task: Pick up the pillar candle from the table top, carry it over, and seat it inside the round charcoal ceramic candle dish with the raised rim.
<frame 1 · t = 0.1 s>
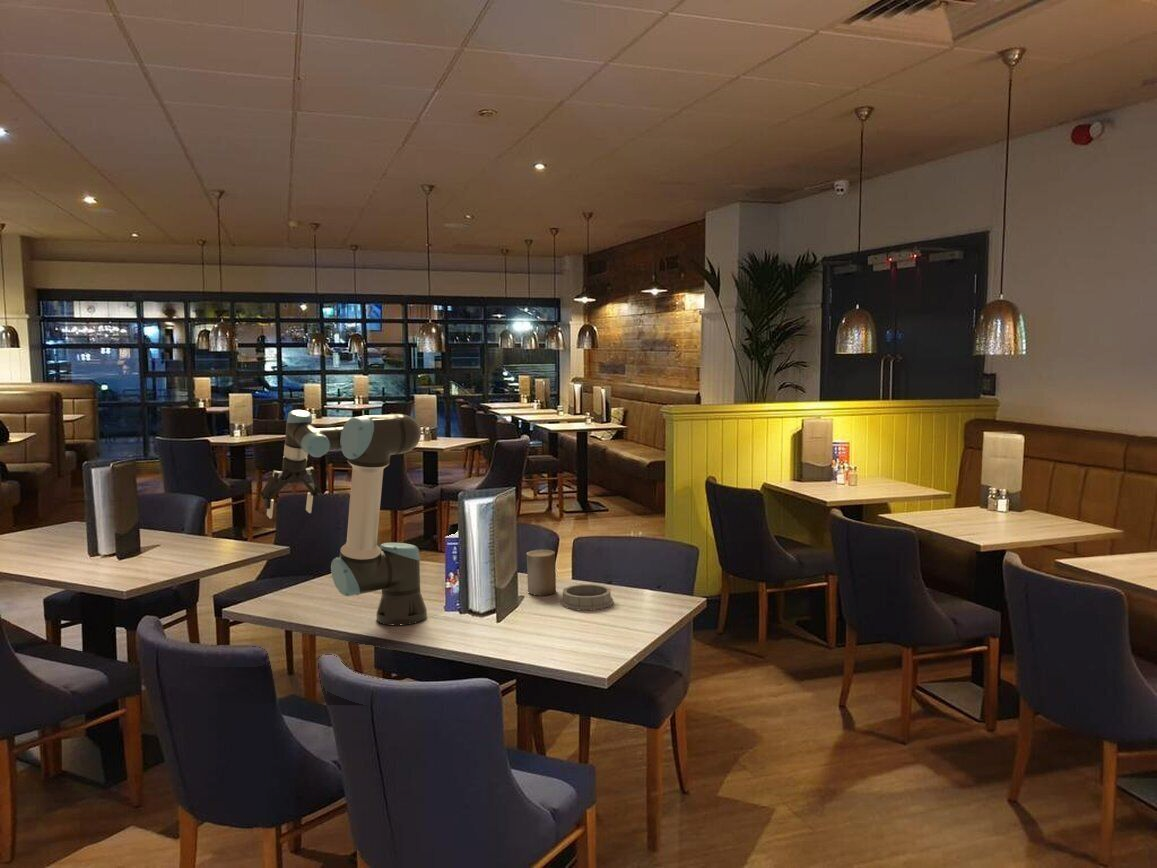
hand: (289, 514, 284), 28 cm above the table, tool tilted 20°, fingers open, 13 cm apart
candle dish: (586, 602, 274), on the table
pillar candle: (541, 592, 287), on the table
wine glass: (462, 580, 303), on the table
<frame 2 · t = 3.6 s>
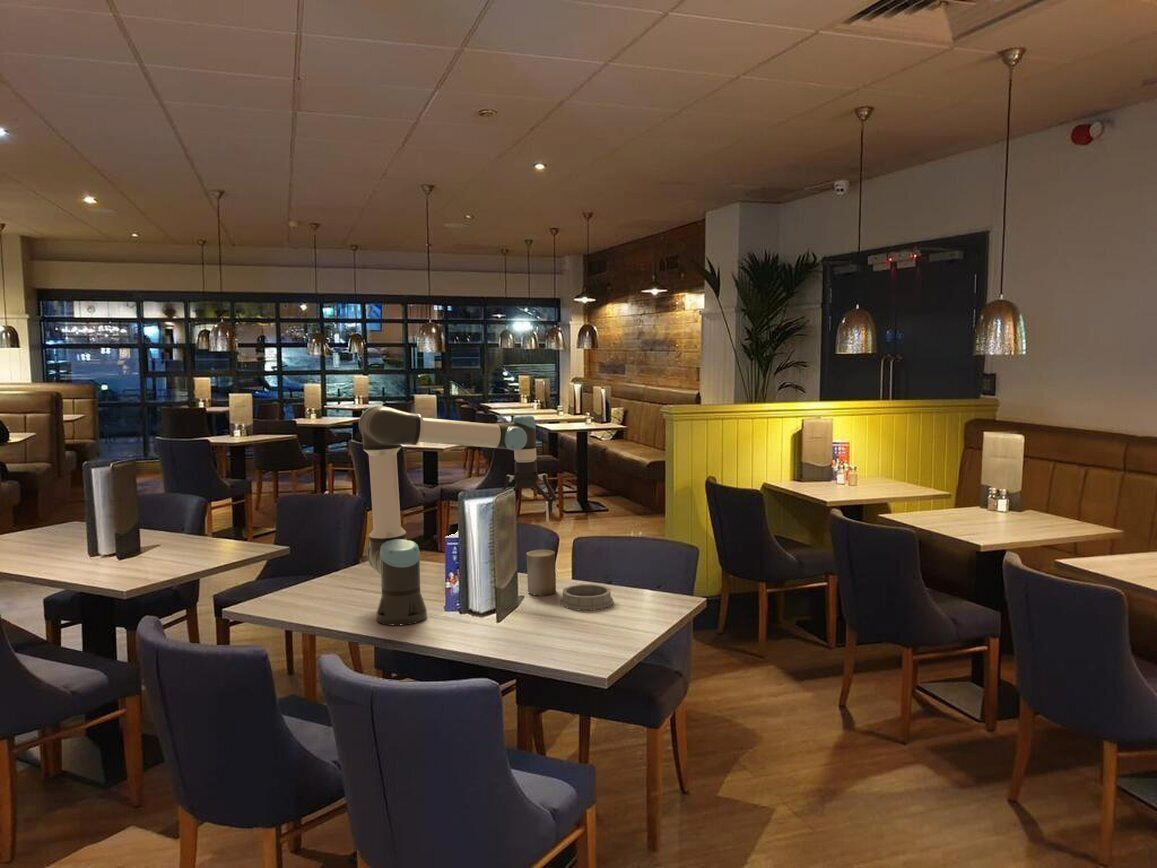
hand: (527, 521, 291), 23 cm above the table, tool pointing down, fingers open, 13 cm apart
nothing on the table moved.
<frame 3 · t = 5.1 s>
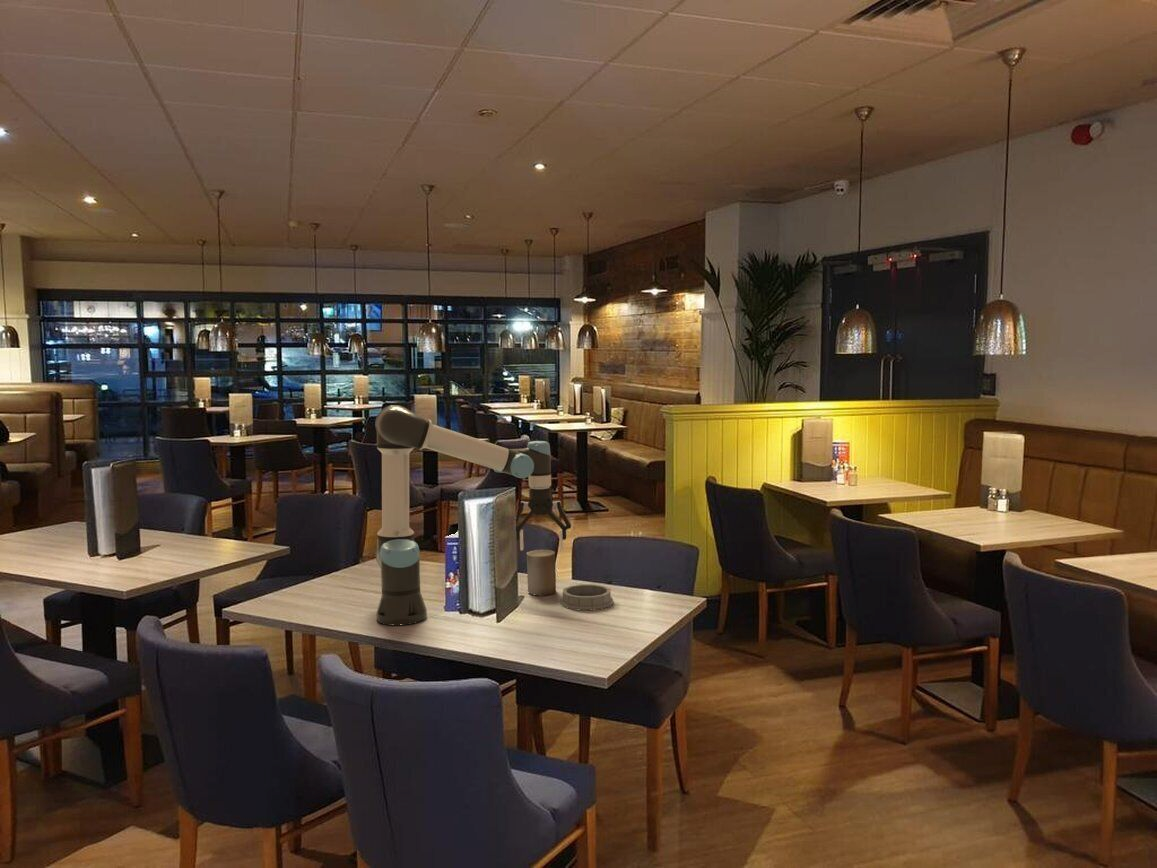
hand: (541, 549, 285), 15 cm above the table, tool pointing down, fingers open, 13 cm apart
nothing on the table moved.
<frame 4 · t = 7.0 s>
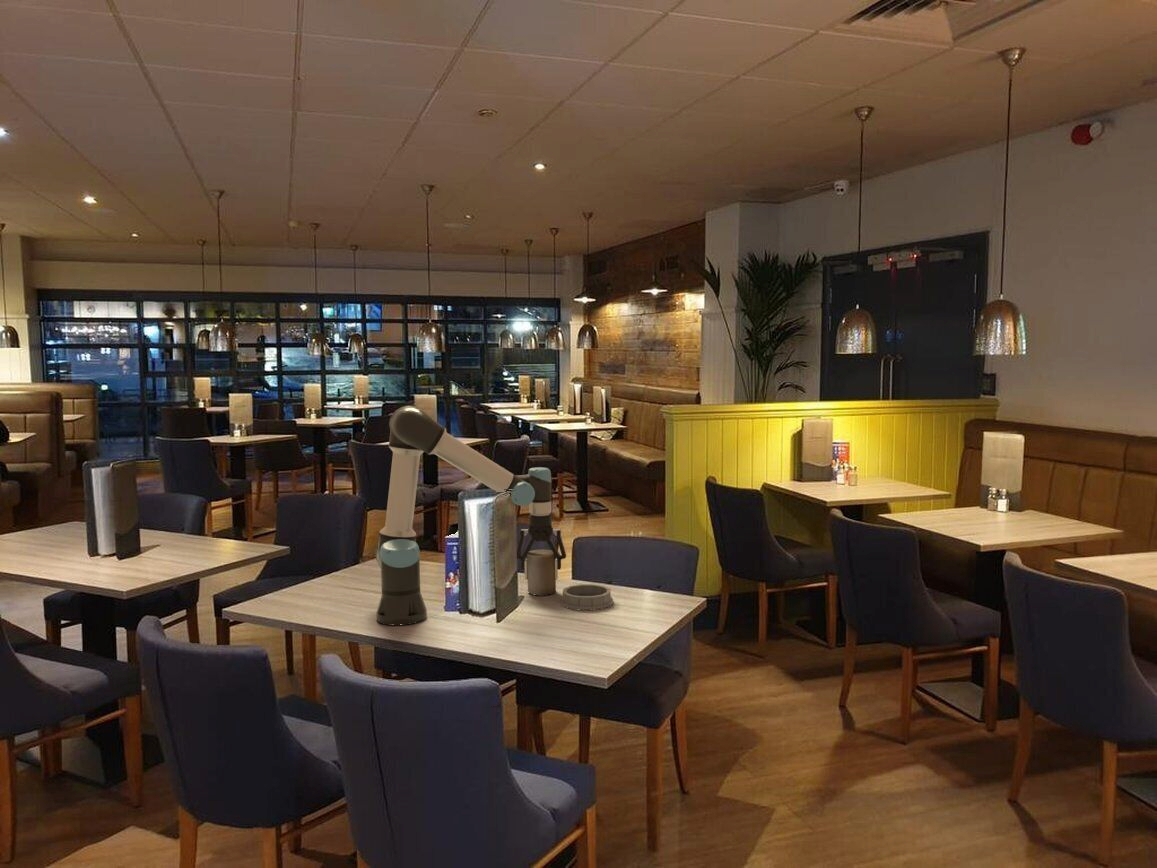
hand: (541, 578, 286), 5 cm above the table, tool pointing down, fingers closed on pillar candle, 10 cm apart
pillar candle: (541, 592, 287), on the table, touching gripper
everything else where it was.
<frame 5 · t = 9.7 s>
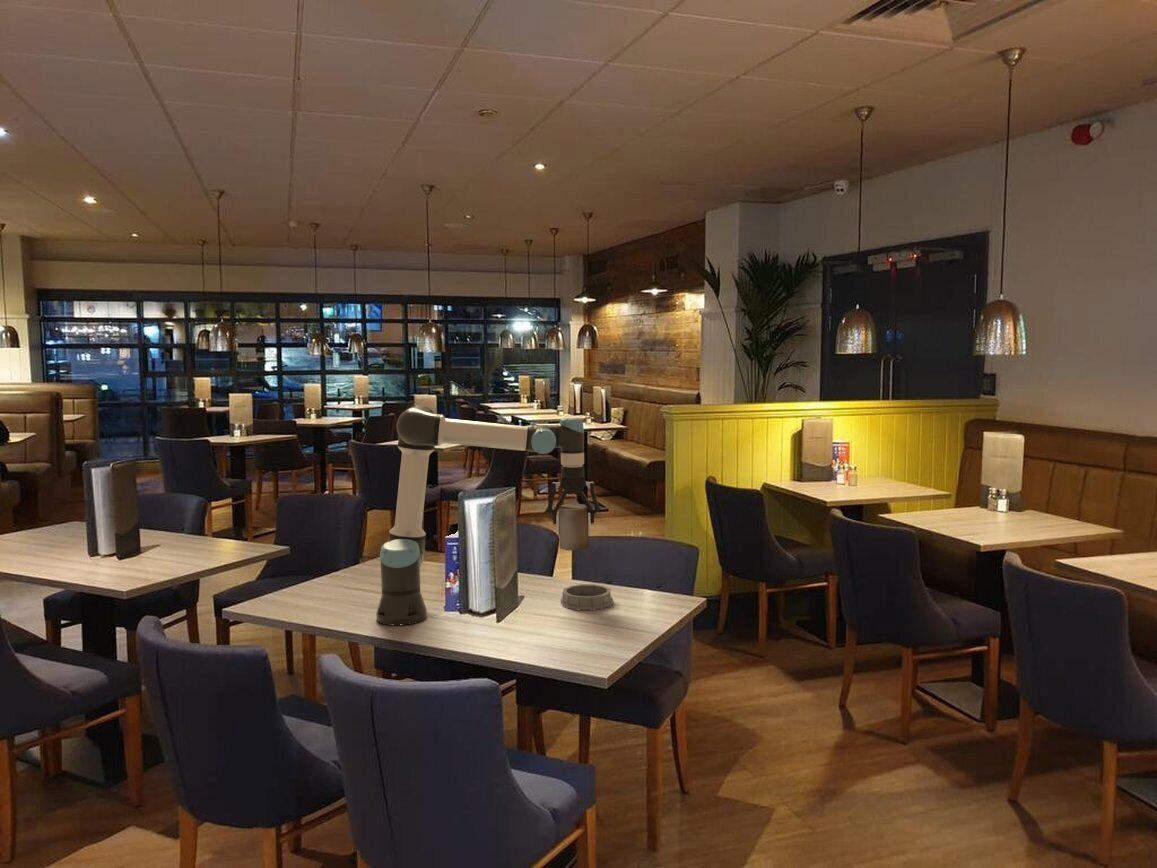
hand: (573, 533, 275), 22 cm above the table, tool pointing down, fingers closed on pillar candle, 10 cm apart
pillar candle: (573, 548, 276), point 17 cm above the table, touching gripper
everything else where it was.
when the fingers open (7 cm above the table, at t = 12.8 s): pillar candle drops 1 cm, resting on candle dish.
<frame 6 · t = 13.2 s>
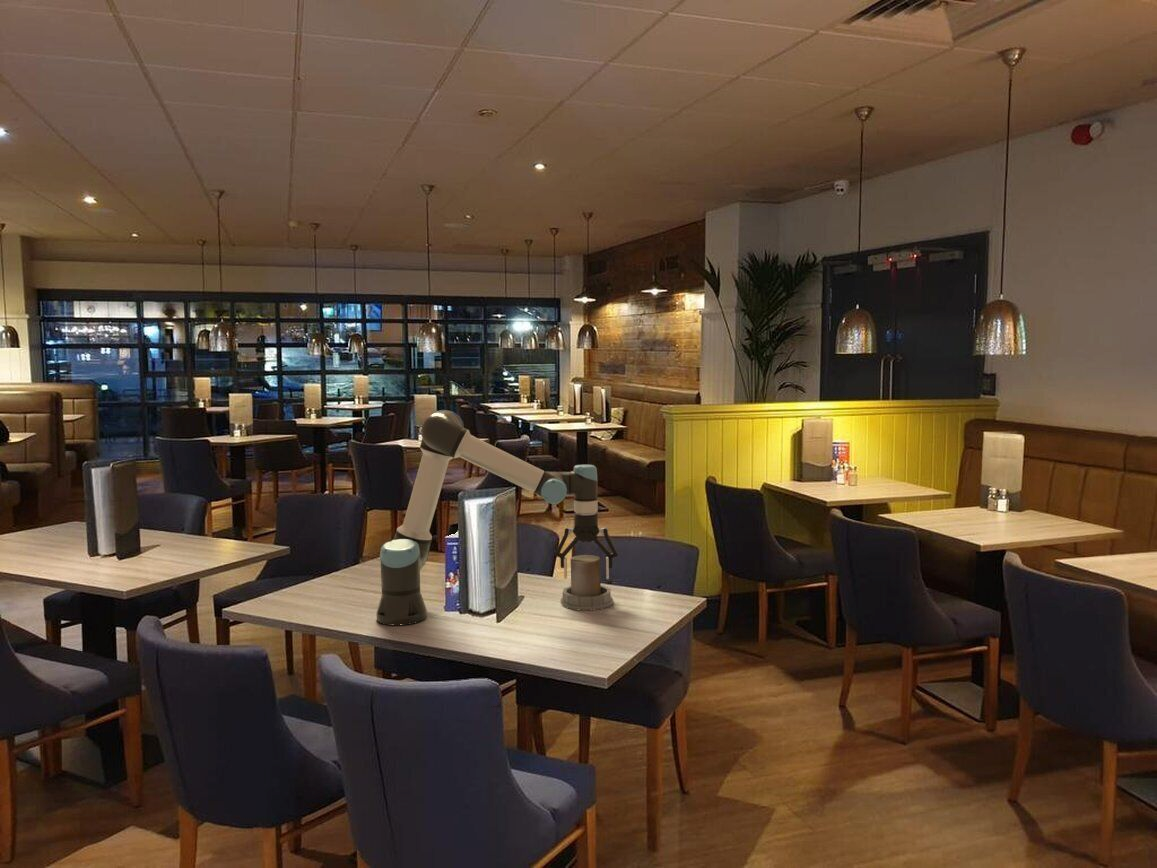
hand: (586, 577, 273), 8 cm above the table, tool pointing down, fingers open, 13 cm apart
pillar candle: (585, 600, 274), point 1 cm above the table, touching candle dish
everything else where it was.
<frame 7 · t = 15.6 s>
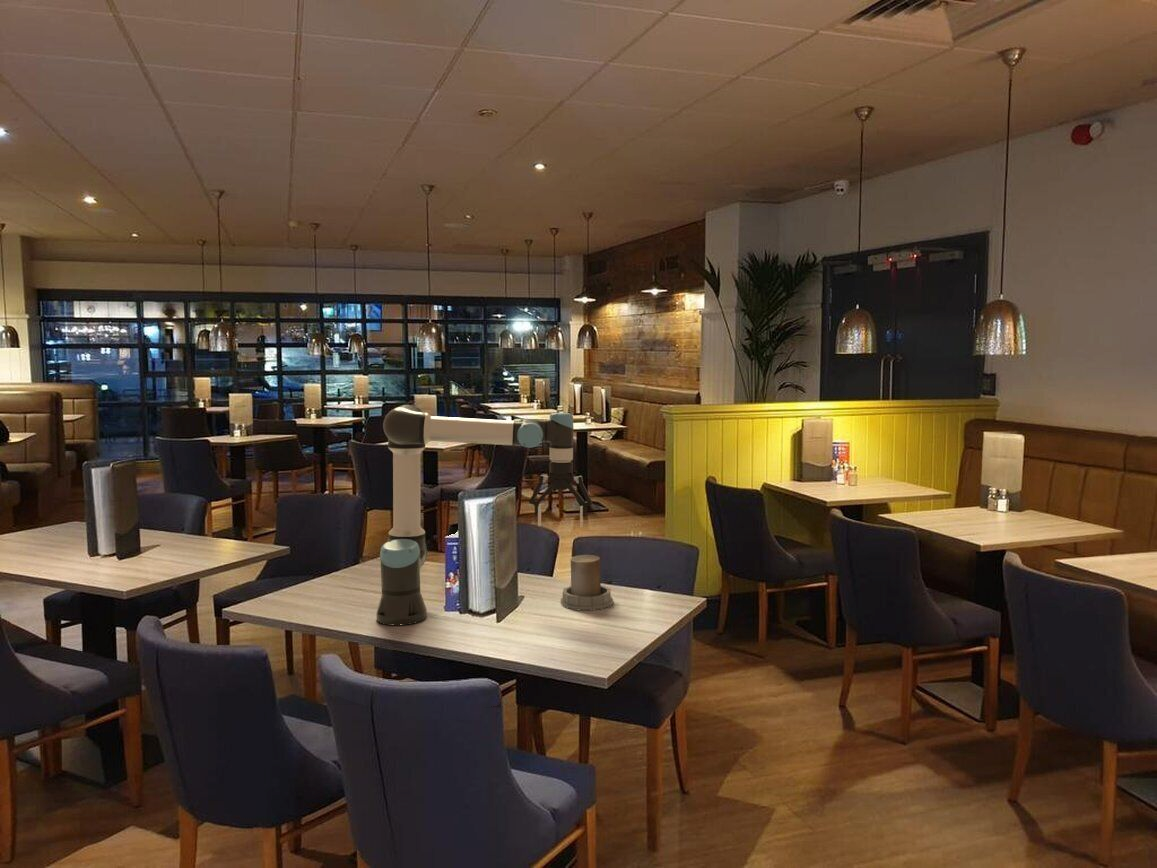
hand: (560, 526, 273), 25 cm above the table, tool pointing down, fingers open, 13 cm apart
nothing on the table moved.
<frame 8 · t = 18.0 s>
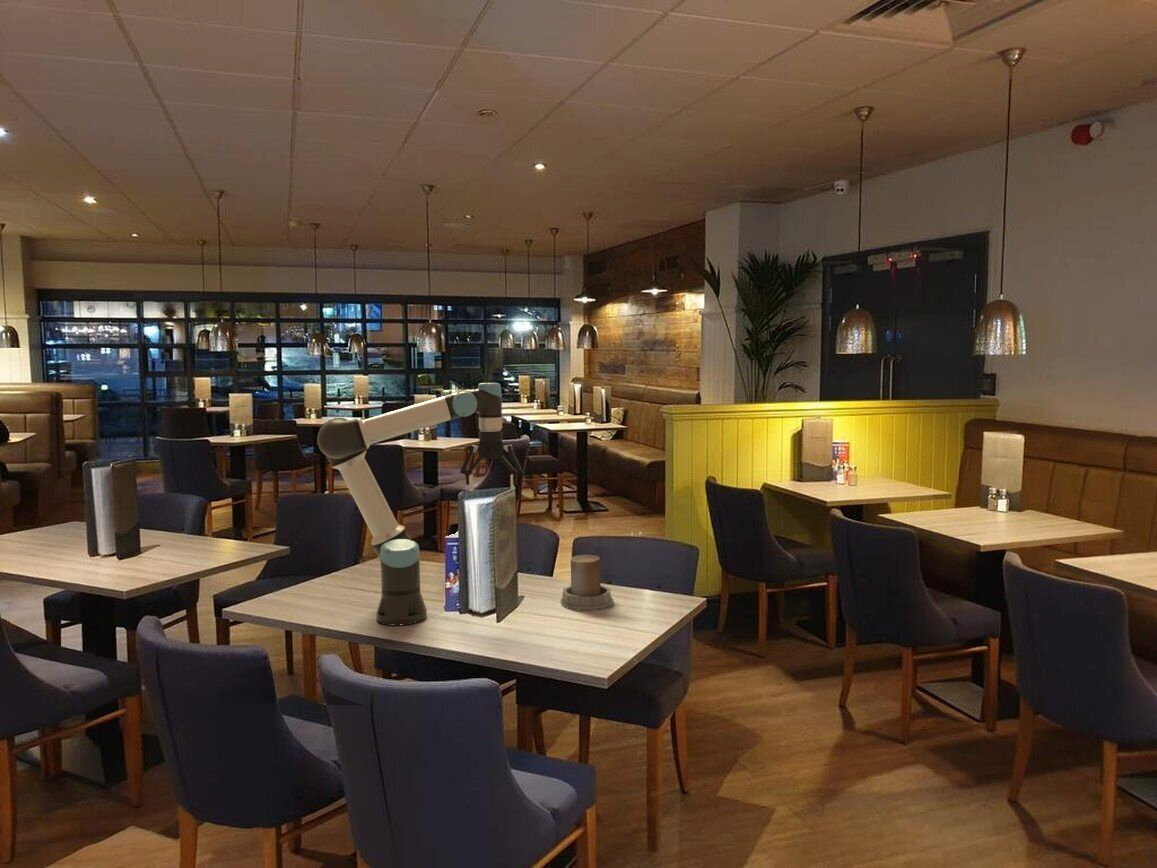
hand: (491, 494, 276), 35 cm above the table, tool pointing down, fingers open, 13 cm apart
nothing on the table moved.
at the end: pillar candle 0.4 cm off-centre on the candle dish, point 0.8 cm above the candle dish's base; pillar candle tilted 0°; the gripper is holding nothing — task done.
